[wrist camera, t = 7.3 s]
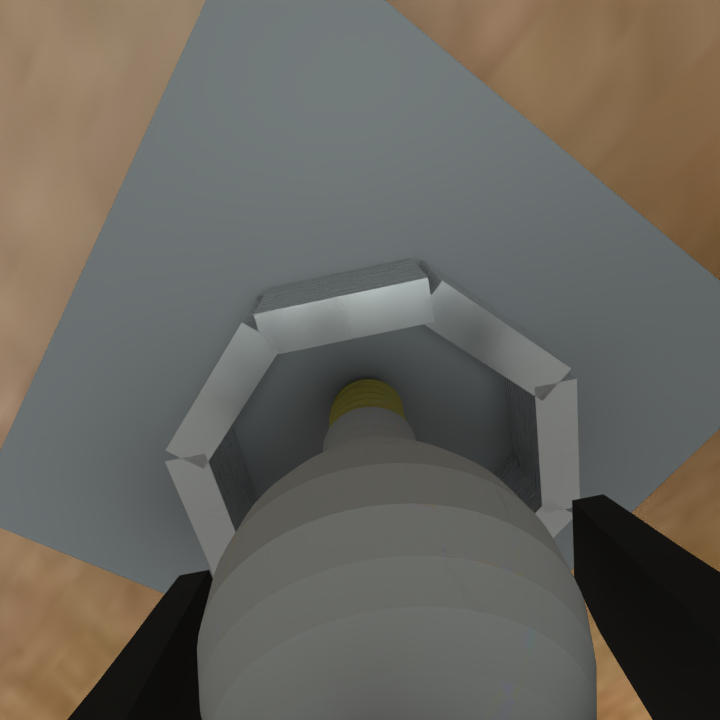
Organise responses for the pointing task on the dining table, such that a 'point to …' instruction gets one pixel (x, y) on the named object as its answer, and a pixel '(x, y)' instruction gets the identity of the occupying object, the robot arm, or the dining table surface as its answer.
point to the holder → (350, 298)
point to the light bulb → (393, 590)
